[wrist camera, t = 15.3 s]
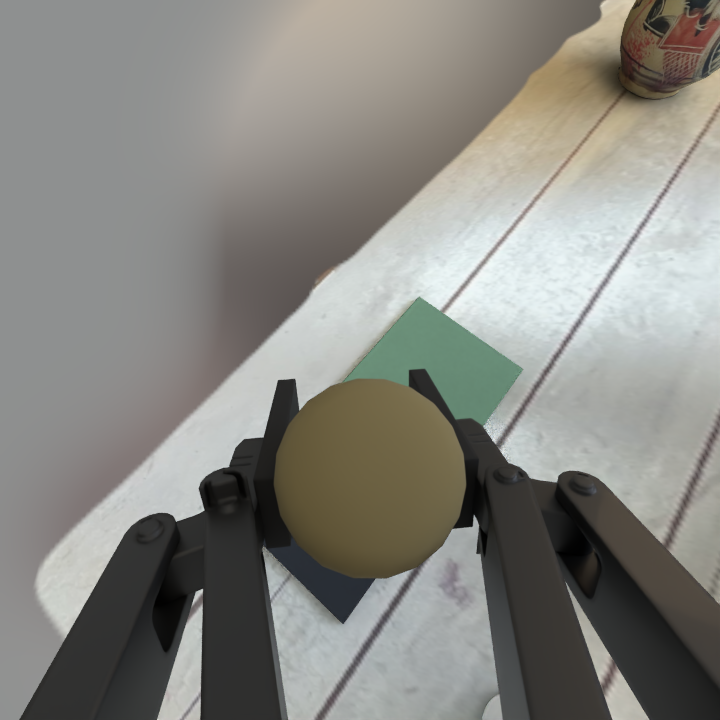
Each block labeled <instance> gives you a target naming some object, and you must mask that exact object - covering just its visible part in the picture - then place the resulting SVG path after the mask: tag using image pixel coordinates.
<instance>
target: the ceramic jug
mask: <svg viewBox="0 0 720 720" xmlns="http://www.w3.org/2000/svg"><path fill="white" fill-rule="evenodd" d="M620 53H621V64H622V66H621V67H619V73H618V79H619V80H620V82H621V84H622V85H623V86H624V87H625V88H626V89H627V90H629V91H631V92H633V93H634V94H635V95H638V96H641V97H644V98H650V99H661V98H666V97H670V96H673V95H675V94H677V93H678V92H679V91H680V89H681V88H683V87H685V86H687V85H690V84H692V83H694V82H697V81H699V80H702V79H704V78H706V77H707V76H709V75H710V74H711V73H713V72H714V71H716V70H717V69H719V68H720V0H636V2H635V3H634V5H633V7H632V9H631V10H630V13H629V15H628V17H627V19H626V21H625V24H624V28H623V32H622V36H621V45H620Z"/></svg>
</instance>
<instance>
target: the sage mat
mask: <svg viewBox="0 0 720 720" xmlns="http://www.w3.org/2000/svg"><path fill="white" fill-rule="evenodd" d="M412 369H426V371H427V372H428V374H429V376H430V377H431V379H432V381H433V382H434V384H435V386H436V387H437V389H438V391H439V392H440V394H441V396H442V398H443V399H444V401H445V403H446V404H447V406H448V408H449V409H450V411H451V413H452V414H453V416H454V418H455V419H466V418H472V419H474V420H475V421H477V422H478V423H480V424H481V425H482V426H483V425H484V424H485V423H486V421H487V420H488V418H489V417H490V416H491V414H492V413H493V411H494V410H495V408H496V407H497V406H498V404H499V403H500V401H501V400H502V399H503V397H504V396H505V394H506V393H507V391H508V390H509V389H510V387H511V386H512V384H513V383H514V382H515V380H516V379H517V377H518V376H519V374H520V373H521V372H522V370H523V369H522V368H521V367H519V366H518V365H516V364H515V363H513V362H512V361H511V360H509V359H508V358H506V357H505V356H503V355H502V354H501V353H499V352H498V351H496V350H495V349H493V348H492V347H491V346H489V345H488V344H486V343H485V342H483V341H482V340H481V339H479V338H478V337H476V336H475V335H473V334H472V333H471V332H469V331H468V330H466V329H465V328H463V327H462V326H461V325H459V324H458V323H456V322H455V321H453V320H452V319H451V318H449V317H448V316H446V315H445V314H443V313H442V312H441V311H439V310H438V309H436V308H435V307H433V306H432V305H431V304H429V303H428V302H426V301H425V300H423V299H422V298H420V297H418V299H417V300H416V301H415V302H414V303H413V304H412V305H411V306H410V308H409V309H408V310H407V311H406V312H405V313H404V314H403V315H402V316H401V318H400V319H399V320H398V321H397V322H396V323H395V324H394V325H393V327H392V328H391V329H390V330H389V331H388V332H387V333H386V334H385V335H384V337H383V338H382V339H381V340H380V341H379V342H378V343H377V344H376V346H375V347H374V348H373V349H372V350H371V351H370V352H369V353H368V354H367V356H366V357H365V358H364V359H363V360H362V361H361V362H360V363H359V365H358V366H357V367H356V368H355V369H354V370H353V371H352V372H351V373H350V375H349V376H348V377H347V378H346V379H345V380H344V381H343V382H347V381H350V380H354V379H357V378H361V379H386V380H389V381H393V382H396V383H399V384H402V385H405V386H408V387H409V370H412ZM343 382H342V383H343Z"/></svg>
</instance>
